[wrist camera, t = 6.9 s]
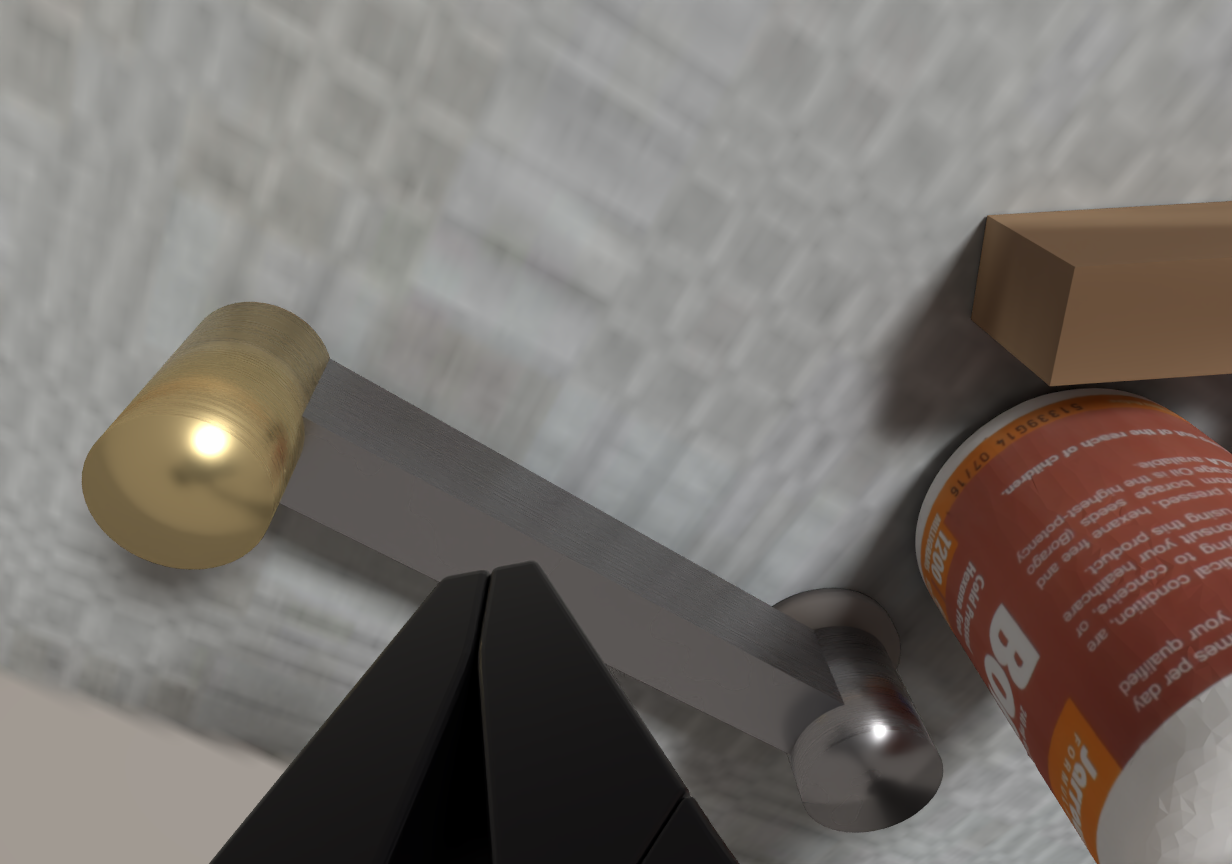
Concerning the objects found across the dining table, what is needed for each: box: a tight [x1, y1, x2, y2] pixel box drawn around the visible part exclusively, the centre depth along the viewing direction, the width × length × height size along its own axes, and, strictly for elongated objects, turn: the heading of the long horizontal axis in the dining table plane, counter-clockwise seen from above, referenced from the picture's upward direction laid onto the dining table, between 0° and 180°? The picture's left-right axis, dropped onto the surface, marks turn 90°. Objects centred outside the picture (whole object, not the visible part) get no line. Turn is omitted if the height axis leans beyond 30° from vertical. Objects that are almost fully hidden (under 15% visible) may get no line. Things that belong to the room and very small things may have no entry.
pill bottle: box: [915, 388, 1232, 864], centre depth 15 cm, size 6×6×11 cm
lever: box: [82, 302, 943, 832], centre depth 16 cm, size 16×3×4 cm, turn 54°
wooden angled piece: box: [773, 201, 1232, 669], centre depth 18 cm, size 12×13×3 cm
